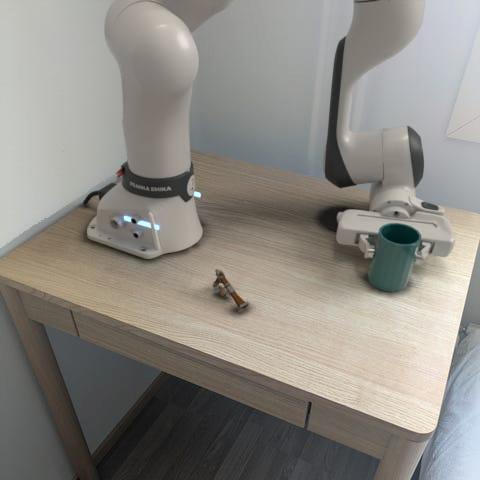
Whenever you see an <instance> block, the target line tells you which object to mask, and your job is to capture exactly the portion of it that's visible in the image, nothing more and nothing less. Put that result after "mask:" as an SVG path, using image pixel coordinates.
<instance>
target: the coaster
mask: <svg viewBox="0 0 480 480" xmlns="http://www.w3.org/2000/svg"><path fill="white" fill-rule="evenodd" d="M349 209H352V208H350V207H345V206H343V207H342V206H340V207H338V206H337V207H332V208H328V209H325V211H323V212H322V213H321V215H320V222H321V224H322V225H323V226H324V227H325V228H327V229H328V230H330V231H333V232H335V233H337V229H338V224H339V223H338V222H337V214H338V213H339V212H344V211H346V210H349ZM353 209H354V210H356V209H355V208H353Z"/></svg>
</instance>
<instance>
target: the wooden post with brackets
mask: <svg viewBox="0 0 480 480" xmlns="http://www.w3.org/2000/svg"><path fill="white" fill-rule="evenodd" d="M214 272H215V274H214V276H216V278H215V280H214V281H213V283H212V287H213V288H214V289H216V288H217V290H218V294H220V295H221V298H224V299H227V298H228V297H229V296H230V297H231V298H232V299H233V301H234V303H235V305H236V307H237V313H240V312H242V311H244V310H246V309H247V308H248V306H249V305H250V302H249V300H247V301H245V300H244V299H243V298H242V297H241V296H240V295H239V294H238V293H237V292H236V289H235V288H234V286H233V284H232V283H231V282H229V281H228V279H227V278H226V274H225V273H224V271H222V269H218V268H216V269H215V271H214ZM220 284H222V285H223V287H222V285H220Z"/></svg>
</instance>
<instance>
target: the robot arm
mask: <svg viewBox="0 0 480 480" xmlns="http://www.w3.org/2000/svg"><path fill="white" fill-rule="evenodd" d="M233 1H234V0H114V1H113V2H112V3H111V4H110V6H109V7H108V9H107V11H106V15H105V18H104V27H103V28H104V29H103V30H104V31H103V33H104V40H105V43H106V45H107V48H108V50H109V52H110V53H111V55H112V56H113V58H114V60H115V61H116V64H117V66H118V69H119V74H120V80H121V92H122V94H121V95H122V120H121V124H122V131H123V138H124V145H125V152H126V161H125V162H124V163H122V164H121V165H120V168H119V169H118V170H117V171H116V172H115V175H116V179H120V177H122V179H121V181H119V182H118V183H115V182H111V183H109V184H107V185H105V186H104V187H102V188H100V189H99V190H94V191H92V192H89V193H88V194H87V195H86V197H85V198H84V200H83V202H82V204H83V205H85V206H86V205H88V204H89V202H90V201H91V200H92V198H93V197H95V196H98V200H99V202H98V204H97V207H96V215H95V216H94V217H93V219H92V220H91V221H90V222H89V224H88V226H87V228H86V237H87V239H89V240H90V241H93V242H96V243H98V244H101V245H105V246H108V247H111V248H113V249H116V250H119V251H122V252H125V253H128V254H130V255H133V256H136V257H139V258H141V259H145V260H152V259H155V258H157V257H160V256H162V255H165V254H171V253H177V252H180V251H183V250H186V249H189V248H191V247H192V246H194V245H196V244H197V243H198V242H199V241H200V240H201V239H202V237H203V234H204V228H203V226H202V224H201V220H200V218H199V214H198V211H197V205H196V200H195V197H197V198H201V192H198V191H195V190H196V177H195V171H194V169H195V168H194V163H193V161H192V158H191V138H190V137H191V136H190V111H191V104H192V98H193V97H192V96H193V88H194V86H193V85H194V82H195V80H196V78H197V75H198V71H199V66H200V63H199V62H200V58H199V57H200V56H199V51H198V47H197V45H196V42H195V40H194V36H193V35H192V33H194V32H195V31H196V30H198V28H200V27H201V26H202V25H203V24H205V23H206V22H207V21H208V20H210V19H211V18H213V17H214V16H215V15H217V14H219V13H221V12H223V11H224V10H226V9H227V8H228V7H229V6H230V5H231V4H232V2H233ZM425 6H426V0H353V11H352V18H351V22H350V27H349V29H348V31H347V33H346V35H345V36H344V37H343V38H341V39H340V40H339V41H338V43H337V46H336V49H335V54H334V59H333V66H332V77H331V86H330V97H329V111H328V112H329V113H328V121H327V122H328V123H327V136H326V142H325V145H324V149H323V153H322V170H323V171H322V172H323V175H324V178H325V179H326V180H327V182H329V183H330V184H332V185H333V186H335V187H337V188H339V189H344V188H350V187H354V186H355V187H356V186H357V185H364V184H365V185H366V184H370V189H369V190H370V191H369V207H368V210H364V209H363V210H362V209H355V208H351V209H349V210H346V211H344V212H339V213H338V214H337V222H338V223H339V224H338V229H337V232H336V234H335V235H336V236H335V241H336V242H337V243H338V244H340V245H344V246H352V247H357V248H358V249H359V250H360V251H361V252H362V253H363V254H364V255H363V257H364V259H371V260H372V259H373V257H374V253H375V245H376V240H377V236H378V232H379V228H381V227H382V226H383V225H385V224H389V223H401V224H406V225H409V226H411V227H413V228H415V229H416V230H418V231H419V233H420V234H421V242H420V245H419V249H418V252H417V255H416V258H415V261H414V265H417V266H418V265H419V266H424V263H425V260H426V258H427V257H428V256H430V257H431V256H433V257H439V258H447V257H449V256H450V255H451V254H452V251H453V249H454V246H455V244H456V234H455V231H454V227H453V226H452V223H451V222H450V220H449V219H448V218H447V217H445V212H446V210H445V208H444V207H443V206H441V205H438V204H434V203H430V202H427V201H425V200H422V199H420V198H418V197H417V196H416V188H417V187H418V185H420V182H421V181H422V179H423V177H424V172H425V171H424V170H425V156H424V150H423V144H422V143H423V142H422V137H421V136H420V134H419V133H418V132H417V131H416V130H415V129H414V128H413V127H412V126H409V125H401V126H400V125H399V126H395V127H394V126H393V127H386V128H382V129H374V130H373V129H372V130H365V131H358V132H354V131H351V130H350V121H351V113H352V112H351V111H352V104H353V93H354V89H355V86H356V84H357V82H358V81H359V80H361V78H362V77H363V76H364V75H366V74H367V73H368V72H369V71H371V70H372V69H374V68H375V67H376V68H377V66H379V65H381V64H383V63H385V62H386V61H388V60H390V59H391V58H394V57H395V56H397V54H399V53H400V52H403V50H404V49H405V48H406V47H408V45H410V43H411V42H413V40H414V39H415V38H416V36H417V35H418V33H419V31H420V29H421V27H422V25H423V22H424V15H425V8H426V7H425ZM354 209H355V210H354Z"/></svg>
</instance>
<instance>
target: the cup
mask: <svg viewBox="0 0 480 480" xmlns="http://www.w3.org/2000/svg"><path fill="white" fill-rule="evenodd" d="M420 242H421V234H420V233H419V231H418V230H416V229H415V228H413V227H411V226H409V225H406V224H401V223H389V224H385V225H383V226H382V227H381V228H379V232H378V236H377V240H376V245H375V253H374V257H373V259H371V262H370V266H369V269H368V275H367V280H368V282H369V283H370V284H371V286H373V287H375V289H377V290H381V291H384V292H389V293H394V292H400V291H403V290H404V289H406V287H407V285H408V284H409V281H410V277H411V274H412V271H413V268H414V265H415V264H414V261H415V258H416V255H417V252H418V249H419V245H420Z"/></svg>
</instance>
